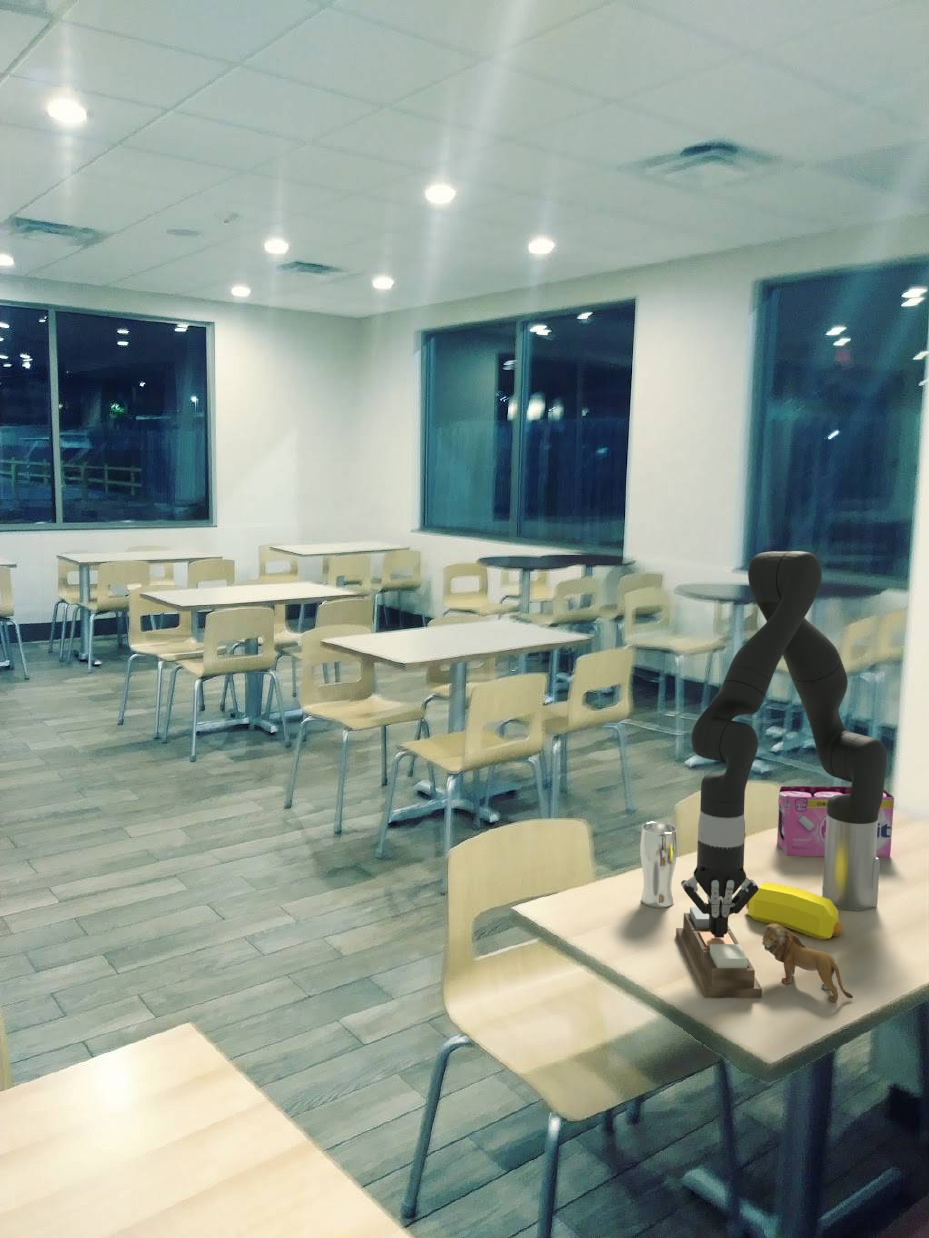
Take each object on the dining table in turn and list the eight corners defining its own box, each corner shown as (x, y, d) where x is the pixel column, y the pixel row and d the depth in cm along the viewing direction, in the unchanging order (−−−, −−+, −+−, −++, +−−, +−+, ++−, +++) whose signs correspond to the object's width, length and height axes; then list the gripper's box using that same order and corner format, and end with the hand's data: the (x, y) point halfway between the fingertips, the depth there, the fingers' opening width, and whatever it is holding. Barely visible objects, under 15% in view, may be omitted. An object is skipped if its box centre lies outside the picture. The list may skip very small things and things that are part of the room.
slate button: (716, 921, 173) (717, 906, 172) (723, 934, 168) (724, 918, 167) (689, 921, 173) (690, 906, 172) (696, 934, 168) (696, 918, 167)
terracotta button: (726, 947, 166) (727, 931, 165) (734, 961, 161) (735, 945, 161) (698, 947, 166) (699, 931, 165) (705, 961, 161) (706, 945, 161)
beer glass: (673, 894, 192) (675, 821, 189) (677, 909, 185) (679, 834, 183) (637, 893, 192) (639, 820, 190) (640, 908, 185) (642, 833, 183)
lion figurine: (755, 978, 159) (757, 927, 158) (767, 966, 163) (769, 915, 162) (847, 1008, 150) (851, 953, 149) (857, 993, 154) (861, 940, 153)
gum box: (781, 856, 211) (783, 796, 209) (770, 843, 219) (772, 785, 217) (891, 857, 211) (895, 797, 209) (876, 843, 218) (880, 785, 217)
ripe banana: (753, 905, 187) (737, 919, 181) (755, 872, 186) (738, 885, 180) (849, 932, 176) (834, 948, 170) (851, 897, 175) (836, 912, 169)
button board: (726, 935, 174) (726, 912, 173) (761, 997, 153) (762, 970, 153) (676, 935, 174) (676, 912, 173) (704, 997, 153) (705, 970, 153)
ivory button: (738, 960, 159) (739, 944, 158) (747, 975, 154) (747, 958, 154) (709, 960, 159) (710, 944, 158) (717, 975, 154) (717, 958, 154)
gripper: (754, 828, 164) (750, 925, 167) (676, 829, 164) (673, 925, 167) (768, 845, 157) (763, 946, 159) (686, 845, 157) (683, 946, 159)
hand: (717, 935), depth 163 cm, fingers closed
